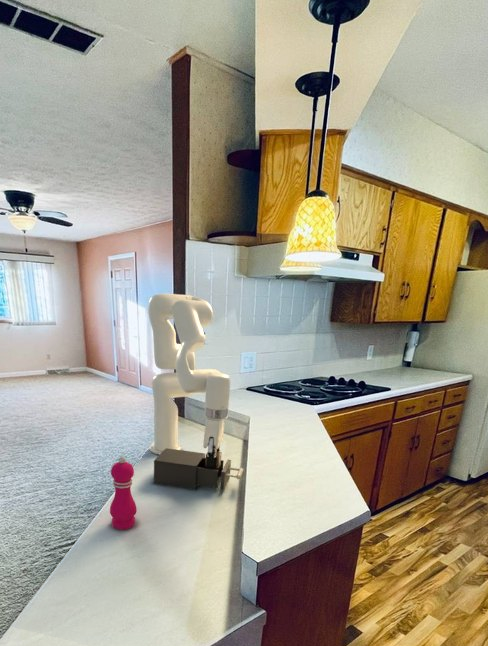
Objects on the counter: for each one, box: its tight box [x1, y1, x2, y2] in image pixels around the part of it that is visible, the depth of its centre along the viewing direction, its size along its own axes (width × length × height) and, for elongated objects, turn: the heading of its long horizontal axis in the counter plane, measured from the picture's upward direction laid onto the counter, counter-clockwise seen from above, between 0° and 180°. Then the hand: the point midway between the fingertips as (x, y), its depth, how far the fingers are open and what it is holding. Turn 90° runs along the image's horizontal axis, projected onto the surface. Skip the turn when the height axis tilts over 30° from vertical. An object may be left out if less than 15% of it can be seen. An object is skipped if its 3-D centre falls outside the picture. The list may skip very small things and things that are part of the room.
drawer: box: [196, 457, 244, 492], centre depth 140 cm, size 18×11×7 cm, turn 77°
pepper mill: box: [109, 456, 138, 531], centre depth 110 cm, size 7×7×20 cm
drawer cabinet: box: [153, 448, 206, 491], centre depth 142 cm, size 15×13×9 cm
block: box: [205, 451, 223, 469], centre depth 138 cm, size 4×4×4 cm
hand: (213, 464), depth 139 cm, fingers closed on block, 4 cm apart
